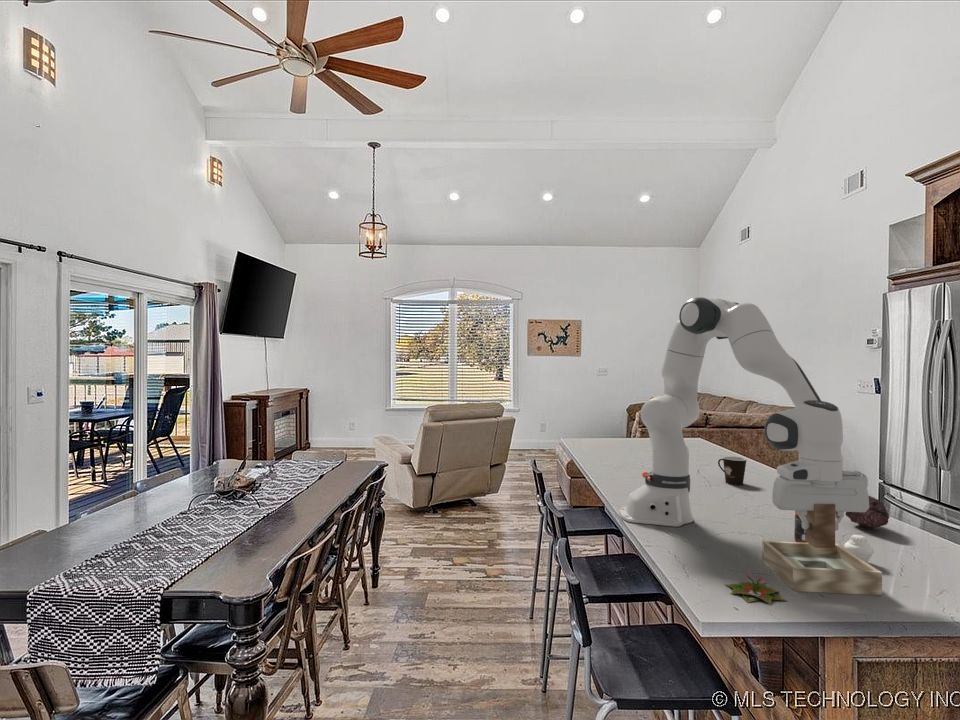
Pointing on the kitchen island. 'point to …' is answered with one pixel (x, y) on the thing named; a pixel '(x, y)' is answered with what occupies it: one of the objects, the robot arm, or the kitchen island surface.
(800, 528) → the supplement bottle
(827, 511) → the peg
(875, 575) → the peg box
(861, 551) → the white ribbed rounded lump
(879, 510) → the pine cone
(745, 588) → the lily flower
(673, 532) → the kitchen island surface
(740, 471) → the coffee mug
